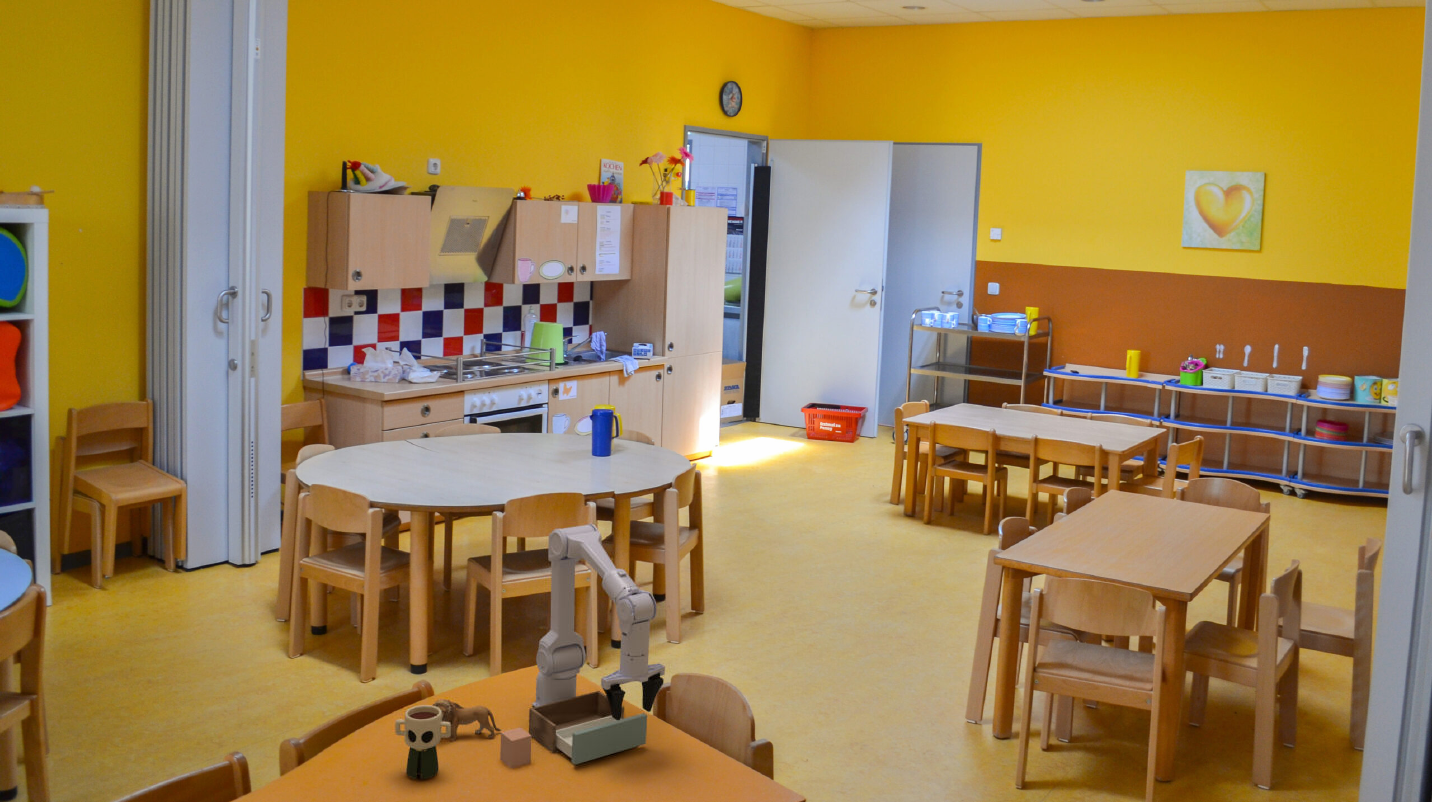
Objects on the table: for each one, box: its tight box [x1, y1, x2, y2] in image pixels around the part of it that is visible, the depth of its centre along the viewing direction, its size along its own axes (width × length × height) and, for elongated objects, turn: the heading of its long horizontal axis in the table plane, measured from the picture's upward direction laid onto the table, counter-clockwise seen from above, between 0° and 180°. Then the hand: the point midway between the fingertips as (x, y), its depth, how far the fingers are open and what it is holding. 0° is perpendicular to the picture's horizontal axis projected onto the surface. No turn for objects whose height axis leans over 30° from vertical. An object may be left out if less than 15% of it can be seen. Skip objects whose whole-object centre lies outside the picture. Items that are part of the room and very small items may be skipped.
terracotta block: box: [499, 726, 532, 769], centre depth 240 cm, size 4×4×6 cm
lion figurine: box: [432, 698, 502, 742], centre depth 250 cm, size 15×5×9 cm, turn 113°
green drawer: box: [556, 712, 648, 765], centre depth 247 cm, size 11×18×6 cm, turn 129°
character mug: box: [394, 704, 452, 780], centre depth 232 cm, size 11×7×13 cm, turn 90°
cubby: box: [528, 690, 625, 754], centre depth 254 cm, size 10×18×6 cm, turn 129°
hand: (631, 714), depth 242 cm, fingers open, 7 cm apart
